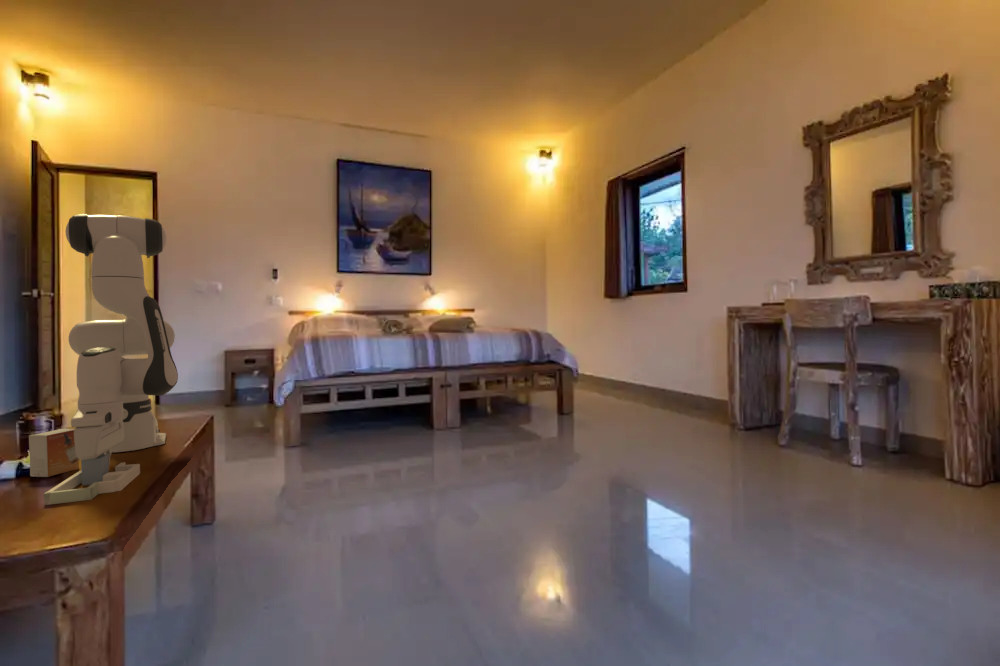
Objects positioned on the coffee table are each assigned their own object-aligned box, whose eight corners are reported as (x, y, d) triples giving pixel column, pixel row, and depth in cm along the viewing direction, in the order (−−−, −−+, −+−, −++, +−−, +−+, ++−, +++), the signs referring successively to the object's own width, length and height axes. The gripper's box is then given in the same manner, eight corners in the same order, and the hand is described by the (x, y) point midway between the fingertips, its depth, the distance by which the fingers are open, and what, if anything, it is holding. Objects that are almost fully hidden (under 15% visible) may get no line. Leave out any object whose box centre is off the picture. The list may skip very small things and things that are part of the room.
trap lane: (87, 475, 127) (86, 466, 127) (144, 469, 131) (143, 460, 131) (44, 505, 107) (43, 493, 106) (113, 497, 111) (113, 486, 111)
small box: (47, 478, 126) (45, 435, 126) (29, 477, 127) (27, 435, 127) (80, 468, 134) (78, 428, 134) (62, 467, 135) (61, 428, 135)
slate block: (89, 480, 123) (88, 455, 123) (109, 478, 125) (108, 454, 124) (82, 485, 119) (81, 460, 119) (102, 483, 121) (101, 458, 121)
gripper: (101, 407, 135) (104, 459, 136) (67, 421, 116) (69, 482, 116) (130, 406, 137) (132, 457, 138) (100, 419, 118) (103, 478, 119)
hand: (103, 468), depth 127 cm, fingers closed
